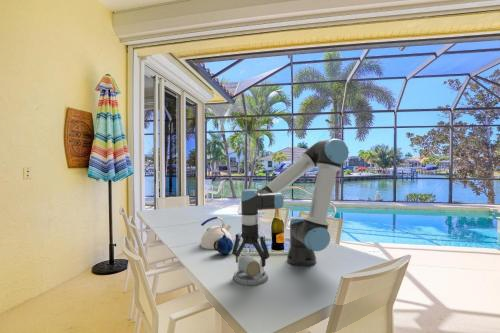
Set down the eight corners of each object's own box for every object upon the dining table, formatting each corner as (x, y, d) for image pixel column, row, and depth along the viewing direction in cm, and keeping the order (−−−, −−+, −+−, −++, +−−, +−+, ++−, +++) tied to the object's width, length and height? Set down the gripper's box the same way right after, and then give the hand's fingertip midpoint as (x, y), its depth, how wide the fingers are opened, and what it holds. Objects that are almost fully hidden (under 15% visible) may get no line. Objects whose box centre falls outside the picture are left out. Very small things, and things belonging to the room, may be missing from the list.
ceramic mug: (247, 279, 121) (247, 261, 121) (238, 272, 128) (238, 256, 128) (267, 274, 126) (267, 257, 126) (258, 268, 133) (258, 252, 133)
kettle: (237, 246, 176) (237, 217, 175) (205, 251, 166) (205, 221, 166) (226, 238, 194) (225, 212, 193) (196, 242, 185) (196, 215, 184)
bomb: (212, 253, 162) (211, 227, 162) (229, 250, 167) (228, 225, 167) (218, 258, 154) (217, 231, 154) (235, 255, 159) (235, 228, 159)
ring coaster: (273, 273, 131) (273, 270, 131) (260, 288, 116) (259, 284, 116) (242, 269, 138) (242, 265, 138) (226, 281, 123) (226, 277, 123)
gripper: (276, 223, 125) (277, 272, 126) (231, 219, 135) (232, 265, 135) (270, 227, 119) (271, 278, 119) (223, 223, 128) (224, 270, 128)
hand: (250, 271), depth 127 cm, fingers closed on ceramic mug, 10 cm apart
